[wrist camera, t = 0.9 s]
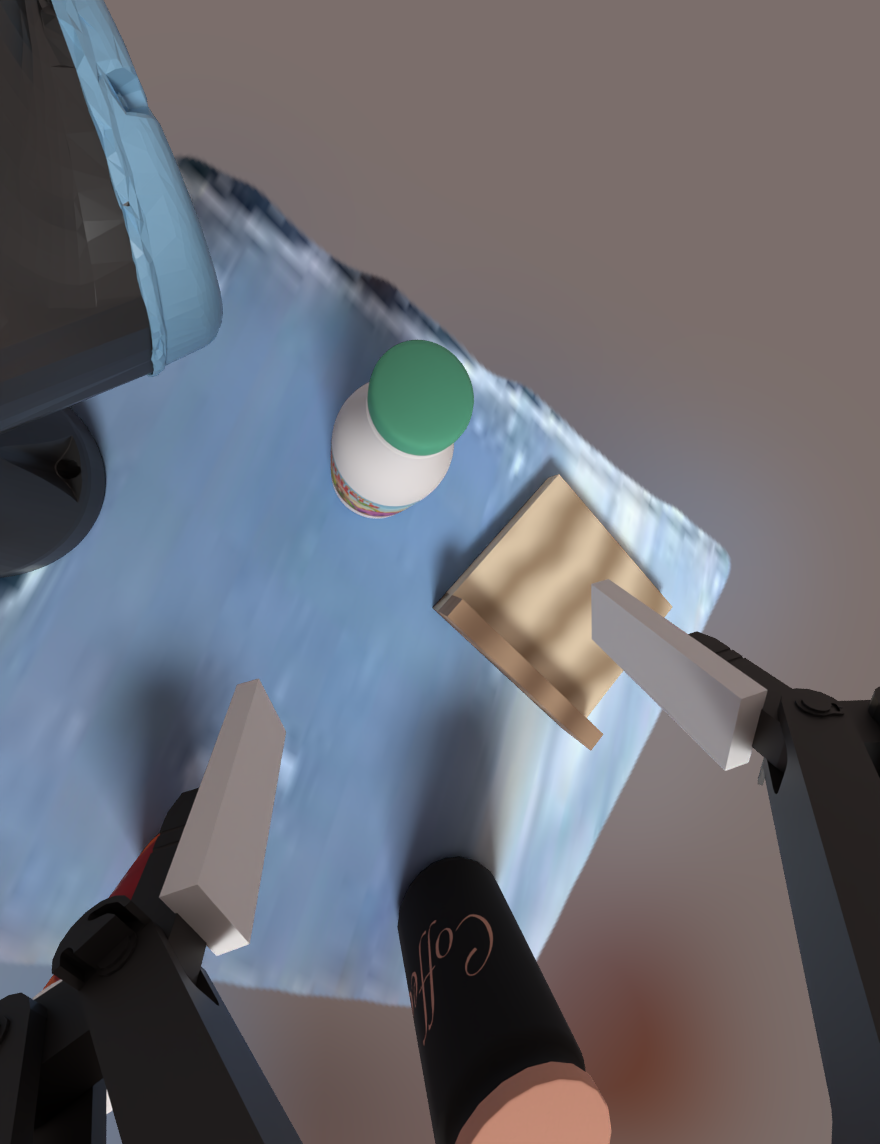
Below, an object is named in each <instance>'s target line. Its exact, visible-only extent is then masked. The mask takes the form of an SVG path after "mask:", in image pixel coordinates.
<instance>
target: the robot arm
mask: <svg viewBox="0 0 880 1144" xmlns="http://www.w3.org/2000/svg"><path fill="white" fill-rule="evenodd" d="M222 315H223V307H222V299H221V293H220V288H219V284H218V280H217V276H216V272H215V269H214V266H213V262H212V259H211V256H210V253H209V249H208V246H207V243H206V240H205V238H204V235H203V232H202V229H201V226H200V223H199V220H198V218H197V215H196V212H195V210H194V207H193V204H192V202H191V199H190V196H189V193H188V191H187V188H186V186H185V183H184V181H183V178H182V176H181V173H180V170H179V168H178V165H177V163H176V160H175V158H174V156H173V153H172V151H171V149H170V146H169V144H168V142H167V139H166V137H165V135H164V133H163V130H162V128H161V125H160V124H159V122H158V121H157V119H156V118H155V116H154V115H153V114H152V112H151V110H150V109H149V107H148V104H147V98H146V95H145V93H144V91H143V88H142V86H141V83H140V81H139V79H138V77H137V74H136V72H135V69H134V67H133V64H132V61H131V58H130V56H129V54H128V51H127V48H126V46H125V44H124V41H123V39H122V37H121V35H120V33H119V31H118V29H117V27H116V25H115V23H114V21H113V19H112V17H111V15H110V13H109V11H108V9H107V7H106V5H105V2H104V1H103V0H0V578H1V577H9V576H15V575H19V574H24V573H27V572H31V571H34V570H36V569H39V568H42V567H44V566H46V565H49V564H50V563H52V562H54V561H56V560H58V559H59V558H61V557H63V556H64V555H66V554H67V553H68V552H70V551H71V550H72V549H73V548H74V547H76V546H77V545H78V544H79V543H80V542H81V541H82V540H83V539H84V537H85V536H86V535H87V534H88V532H89V531H90V530H91V528H92V526H93V525H94V523H95V521H96V519H97V517H98V515H99V512H100V510H101V507H102V503H103V499H104V493H105V472H104V466H103V462H102V458H101V455H100V452H99V449H98V447H97V445H96V442H95V440H94V439H93V437H92V435H91V433H90V432H89V430H88V429H87V427H86V426H85V424H84V423H83V422H82V420H81V419H80V418H79V417H78V416H77V415H76V414H75V413H74V412H73V411H72V410H71V409H70V408H69V406H71V405H74V404H76V403H79V402H81V401H84V400H86V399H88V398H91V397H93V396H96V395H98V394H101V393H103V392H105V391H108V390H110V389H113V388H115V387H118V386H120V385H122V384H125V383H127V382H130V381H132V380H135V379H137V378H139V377H142V376H144V375H148V376H150V377H153V376H157V375H159V373H160V372H161V371H163V370H164V368H165V366H166V365H168V364H170V363H172V362H174V361H176V360H178V359H180V358H182V357H185V356H187V355H189V354H191V353H193V352H195V351H197V350H199V349H201V348H203V347H205V346H207V345H208V344H210V343H211V342H212V341H213V340H214V339H215V337H216V335H217V333H218V330H219V328H220V326H221V323H222ZM591 610H592V640H593V641H594V642H595V643H596V644H597V645H598V646H599V647H600V648H601V649H602V650H603V651H604V652H605V653H606V654H607V655H608V656H609V657H610V658H611V659H612V660H613V661H614V662H615V663H616V664H617V665H618V666H619V667H620V668H622V669H623V670H624V671H625V672H626V673H627V674H628V675H629V676H630V677H631V678H632V679H633V680H634V681H635V682H636V683H637V684H638V685H639V686H640V687H641V688H642V689H643V690H644V691H645V692H646V693H647V694H648V695H649V696H650V697H651V698H652V699H653V700H654V701H655V702H656V703H657V704H658V705H659V706H660V707H661V708H662V709H663V710H664V711H665V712H666V713H667V714H668V715H669V716H670V717H671V718H672V719H673V720H674V721H675V722H676V723H677V724H678V725H679V726H680V727H681V728H682V729H683V730H684V731H685V732H686V733H687V734H689V736H690V737H691V738H692V739H693V740H694V741H695V742H696V743H697V744H698V745H699V746H700V747H701V748H702V749H704V750H705V751H706V753H707V754H708V755H710V756H711V757H712V758H713V759H714V760H715V761H716V762H717V763H718V764H719V765H720V766H721V767H722V768H723V769H724V770H725V771H726V770H729V769H732V768H734V767H737V766H740V765H743V764H746V763H748V762H749V759H750V755H751V752H752V748H754V749H755V750H756V751H757V752H759V753H760V754H761V755H762V756H763V757H764V760H763V763H762V766H761V770H760V773H759V777H758V784H760V785H763V782H764V779H765V780H766V785H767V790H768V795H769V800H770V805H771V810H772V815H773V820H774V825H775V829H776V835H777V839H778V845H779V850H780V855H781V859H782V864H783V869H784V874H785V879H786V884H787V889H788V894H789V899H790V904H791V909H792V914H793V919H794V924H795V929H796V934H797V939H798V943H799V948H800V954H801V958H802V963H803V968H804V973H805V978H806V983H807V988H808V993H809V998H810V1003H811V1008H812V1013H813V1018H814V1023H815V1027H816V1032H817V1038H818V1043H819V1047H820V1053H821V1057H822V1063H823V1067H824V1072H825V1077H826V1082H827V1087H828V1092H829V1097H830V1103H831V1109H832V1121H833V1123H832V1144H880V687H878V688H877V689H875V691H874V694H873V696H872V698H871V700H858V701H837V700H835V699H834V698H832V697H830V696H828V695H826V694H823V693H821V692H817V691H813V690H810V689H797V688H796V689H792V688H790V687H788V686H787V685H785V684H784V683H782V682H781V681H779V680H778V679H776V678H775V677H773V676H772V675H770V674H769V673H767V672H766V671H764V670H763V669H761V668H759V667H758V666H757V665H755V664H753V663H752V662H750V661H749V660H747V659H746V658H743V657H742V656H741V655H740V654H738V653H737V652H735V651H734V650H730V648H729V647H728V646H726V645H725V644H723V643H722V642H720V641H719V640H717V639H715V638H713V637H710V636H708V635H705V634H702V633H700V632H694V633H690V634H687V633H685V632H684V631H682V630H681V629H680V628H678V627H677V626H675V625H674V624H672V623H671V622H670V621H668V620H667V619H665V618H664V617H662V616H661V615H660V614H658V613H657V612H655V611H654V610H652V609H651V608H649V607H648V606H647V605H645V604H644V603H642V602H641V601H639V600H638V599H637V598H635V597H634V596H632V595H631V594H629V593H628V592H627V591H625V590H624V589H622V588H621V587H619V586H618V585H617V584H615V583H614V582H612V581H611V580H609V579H607V580H603V581H600V582H596V583H593V584H591ZM285 735H286V731H285V729H284V727H283V725H282V723H281V721H280V719H279V717H278V715H277V713H276V711H275V709H274V707H273V705H272V703H271V701H270V699H269V697H268V695H267V694H266V692H265V690H264V688H263V686H262V684H261V682H260V680H259V679H256V680H252V681H249V682H245V683H242V684H238V685H237V687H236V689H235V692H234V695H233V697H232V700H231V703H230V706H229V708H228V711H227V714H226V716H225V719H224V722H223V725H222V727H221V730H220V733H219V736H218V738H217V741H216V744H215V746H214V749H213V752H212V755H211V757H210V760H209V763H208V765H207V768H206V771H205V774H204V776H203V779H202V782H201V784H200V787H199V788H197V789H194V790H190V791H187V792H184V793H182V794H181V796H180V797H179V798H178V800H177V801H176V802H175V804H174V805H173V806H172V808H171V809H170V810H169V811H168V813H167V815H166V818H165V820H164V823H163V825H162V827H161V830H160V832H159V833H160V836H158V837H157V839H156V842H155V844H154V846H153V852H152V853H150V856H149V858H148V861H147V863H146V865H145V868H144V870H143V872H142V875H141V877H140V879H139V882H138V884H137V887H136V889H135V891H134V894H133V896H132V898H131V900H130V899H129V898H128V897H126V896H125V895H117V896H112V897H110V898H108V899H105V900H103V901H101V902H99V903H98V904H97V905H95V906H94V907H92V908H91V909H90V910H88V911H87V912H86V913H85V914H84V915H83V916H82V917H81V918H80V919H79V920H78V921H77V922H76V923H75V924H74V925H73V926H72V927H71V928H70V930H69V931H68V933H67V934H66V935H65V937H64V938H63V940H62V941H61V942H60V944H59V946H58V949H57V951H56V953H55V956H54V958H53V961H52V974H54V975H55V976H57V977H58V978H60V979H61V980H63V981H61V982H60V983H58V984H57V985H55V986H54V987H52V988H51V989H49V990H48V991H46V992H45V993H43V994H42V995H40V996H39V997H37V998H36V999H34V1000H33V999H31V998H29V997H27V996H26V995H24V994H23V993H17V994H12V995H8V996H7V997H5V998H3V999H1V1000H0V1144H106V1102H107V1092H108V1096H109V1099H110V1102H111V1106H112V1109H113V1112H114V1116H115V1119H116V1123H117V1127H118V1130H119V1133H120V1137H121V1140H122V1144H303V1143H302V1141H301V1140H300V1138H299V1136H298V1134H297V1133H296V1131H295V1129H294V1127H293V1125H292V1124H291V1122H290V1120H289V1118H288V1116H287V1115H286V1113H285V1111H284V1109H283V1107H282V1106H281V1104H280V1102H279V1101H278V1099H277V1097H276V1095H275V1093H274V1091H273V1090H272V1088H271V1086H270V1085H269V1083H268V1081H267V1079H266V1077H265V1076H264V1074H263V1072H262V1070H261V1068H260V1067H259V1065H258V1063H257V1061H256V1059H255V1058H254V1056H253V1054H252V1052H251V1051H250V1049H249V1047H248V1045H247V1043H246V1042H245V1040H244V1038H243V1036H242V1035H241V1033H240V1031H239V1029H238V1027H237V1026H236V1024H235V1022H234V1020H233V1018H232V1017H231V1015H230V1013H229V1012H228V1010H227V1008H226V1006H225V1004H224V1002H223V1001H222V999H221V997H220V995H219V994H218V992H217V990H216V988H215V986H214V985H213V983H212V981H211V979H210V978H209V976H208V974H207V972H206V971H205V970H204V969H203V968H202V967H201V964H202V960H203V956H204V952H205V948H206V945H207V946H208V947H209V948H210V949H211V950H212V951H213V952H214V954H215V955H216V956H218V955H221V954H223V953H226V952H229V951H232V950H234V949H237V948H240V947H243V946H245V945H248V944H250V938H251V933H252V927H253V921H254V915H255V909H256V904H257V898H258V892H259V886H260V880H261V874H262V869H263V863H264V857H265V851H266V845H267V840H268V834H269V828H270V822H271V816H272V810H273V805H274V799H275V793H276V787H277V781H278V776H279V770H280V764H281V758H282V752H283V746H284V741H285Z"/></svg>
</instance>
